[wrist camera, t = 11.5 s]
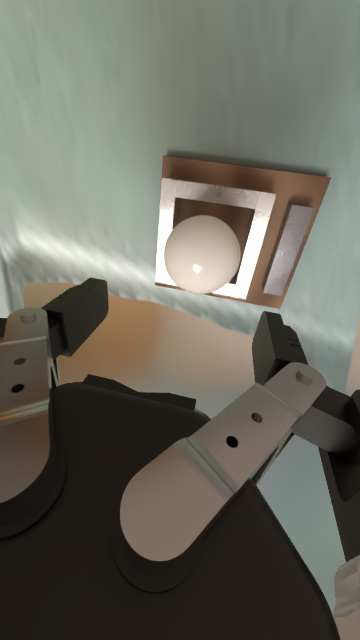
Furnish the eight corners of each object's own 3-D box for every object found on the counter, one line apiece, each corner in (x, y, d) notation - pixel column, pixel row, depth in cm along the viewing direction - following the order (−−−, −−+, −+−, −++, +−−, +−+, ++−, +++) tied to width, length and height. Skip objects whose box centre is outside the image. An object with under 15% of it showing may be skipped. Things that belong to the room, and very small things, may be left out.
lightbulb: (248, 248, 27) (253, 289, 17) (197, 271, 29) (179, 317, 20) (225, 191, 24) (218, 204, 15) (172, 221, 27) (138, 248, 18)
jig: (158, 280, 32) (147, 294, 29) (166, 156, 25) (154, 153, 21) (278, 303, 31) (284, 321, 27) (325, 177, 23) (343, 177, 20)
